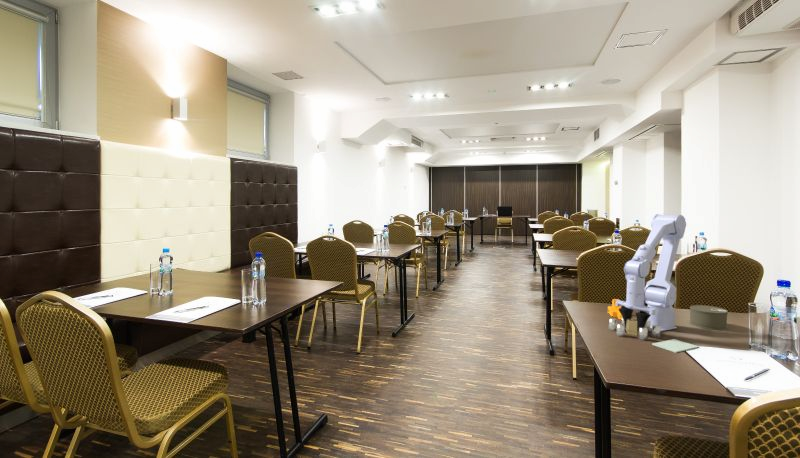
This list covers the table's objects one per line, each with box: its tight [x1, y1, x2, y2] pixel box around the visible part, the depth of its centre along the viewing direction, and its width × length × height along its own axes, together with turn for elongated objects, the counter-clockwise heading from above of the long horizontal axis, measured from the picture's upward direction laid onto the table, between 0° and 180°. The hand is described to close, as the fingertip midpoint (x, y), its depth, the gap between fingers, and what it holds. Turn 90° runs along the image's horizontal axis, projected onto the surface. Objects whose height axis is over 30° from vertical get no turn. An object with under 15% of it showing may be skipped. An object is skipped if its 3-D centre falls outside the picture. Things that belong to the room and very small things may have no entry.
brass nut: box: [625, 317, 639, 336], centre depth 150 cm, size 5×4×5 cm
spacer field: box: [608, 317, 661, 341], centre depth 150 cm, size 17×15×4 cm
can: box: [689, 304, 729, 331], centre depth 160 cm, size 12×12×7 cm
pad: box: [651, 338, 700, 354], centre depth 136 cm, size 12×8×1 cm, turn 114°
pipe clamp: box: [607, 298, 622, 321], centre depth 171 cm, size 12×4×6 cm, turn 170°
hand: (633, 329), depth 150 cm, fingers closed on brass nut, 4 cm apart
